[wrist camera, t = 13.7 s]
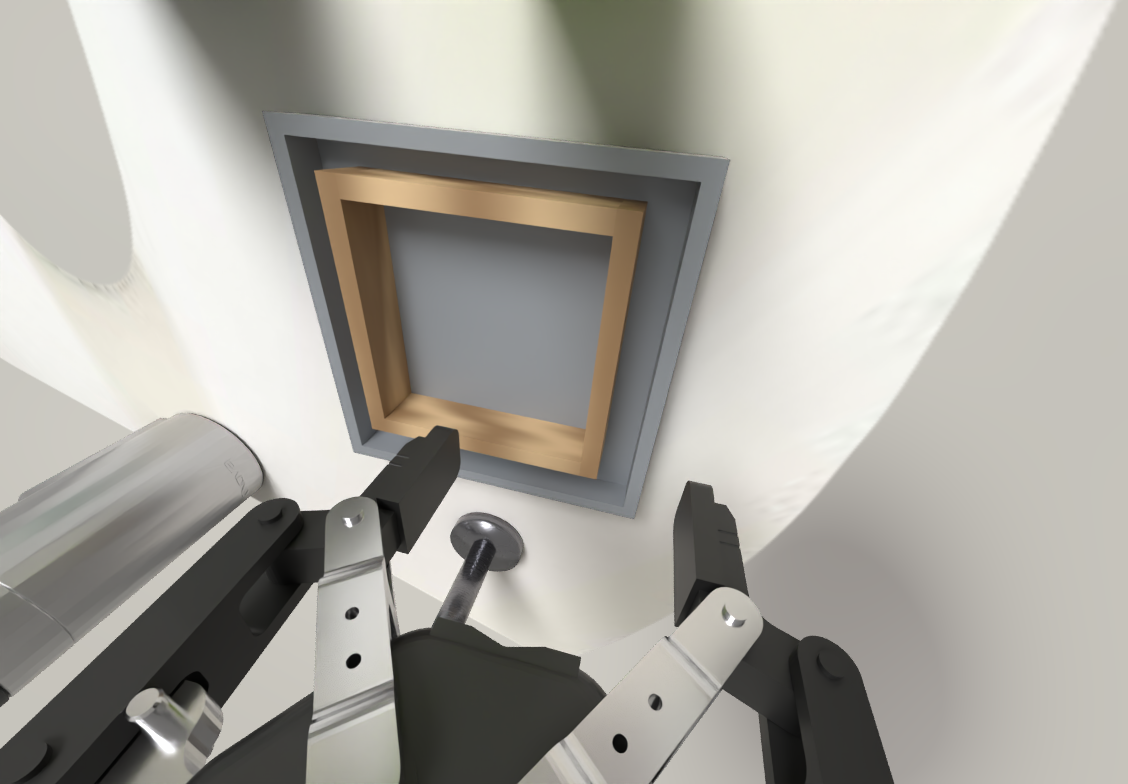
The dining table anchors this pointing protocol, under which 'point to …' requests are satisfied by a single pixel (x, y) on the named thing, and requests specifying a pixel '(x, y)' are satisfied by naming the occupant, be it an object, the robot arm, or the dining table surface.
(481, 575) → the grey metal stand
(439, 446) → the robot arm
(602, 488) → the tray
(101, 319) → the dining table surface
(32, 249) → the dining table surface
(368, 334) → the wooden frame
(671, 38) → the dining table surface
